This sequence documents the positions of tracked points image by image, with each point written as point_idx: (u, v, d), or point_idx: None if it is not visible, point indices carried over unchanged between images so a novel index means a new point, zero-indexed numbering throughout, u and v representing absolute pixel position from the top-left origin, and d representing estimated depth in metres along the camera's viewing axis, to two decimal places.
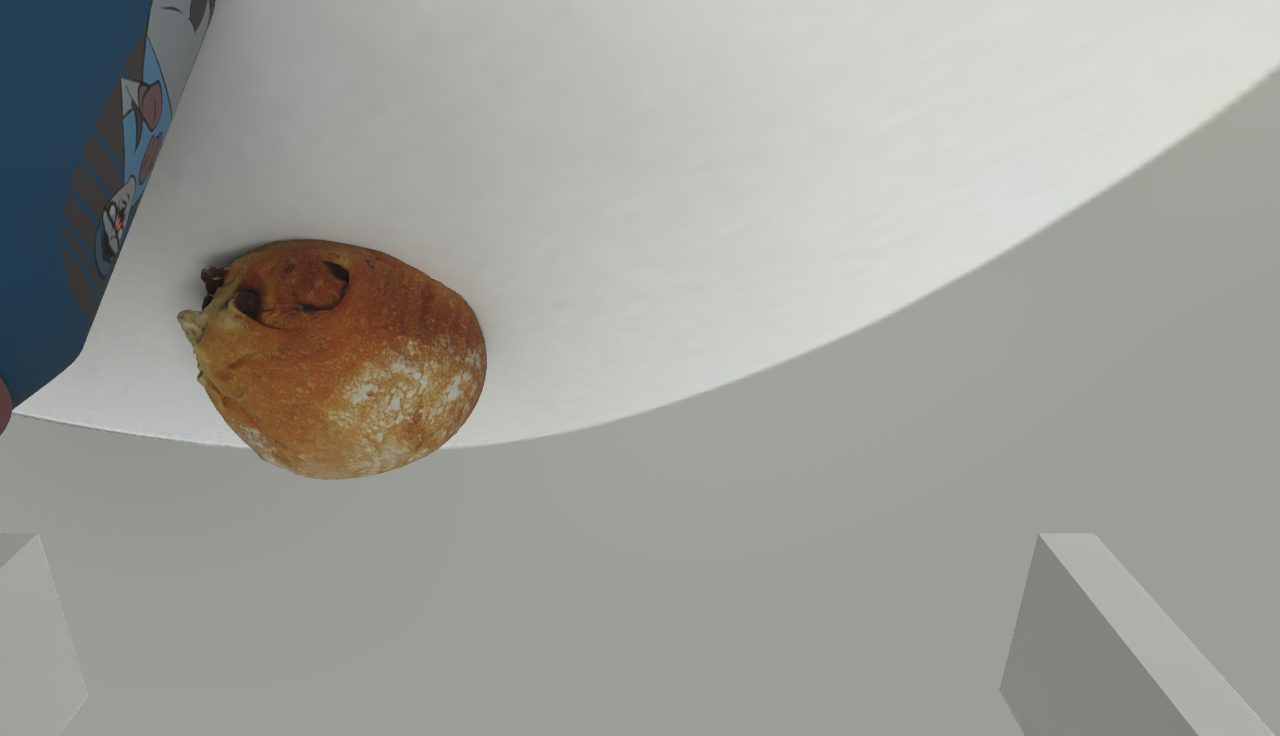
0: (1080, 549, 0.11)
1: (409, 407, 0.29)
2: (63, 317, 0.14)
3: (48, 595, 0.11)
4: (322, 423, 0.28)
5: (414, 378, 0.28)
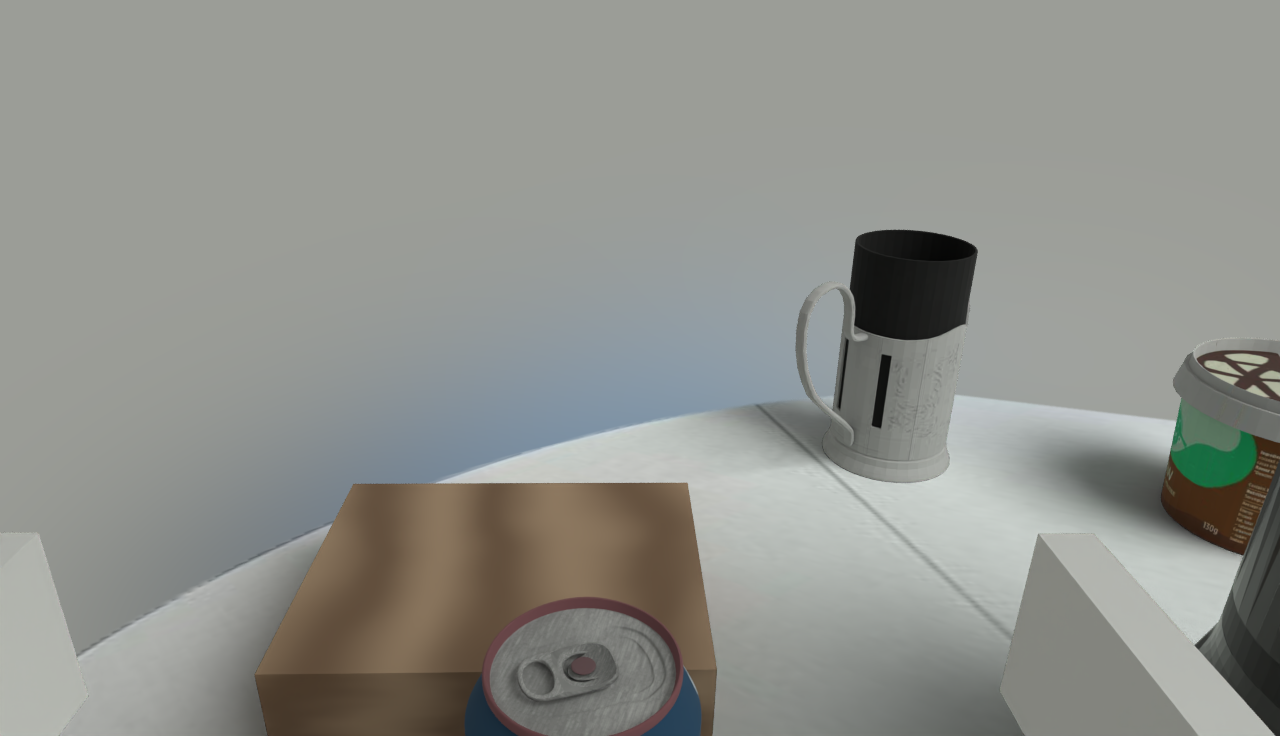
0: (1080, 549, 0.11)
1: None
2: None
3: (48, 594, 0.11)
4: None
5: None
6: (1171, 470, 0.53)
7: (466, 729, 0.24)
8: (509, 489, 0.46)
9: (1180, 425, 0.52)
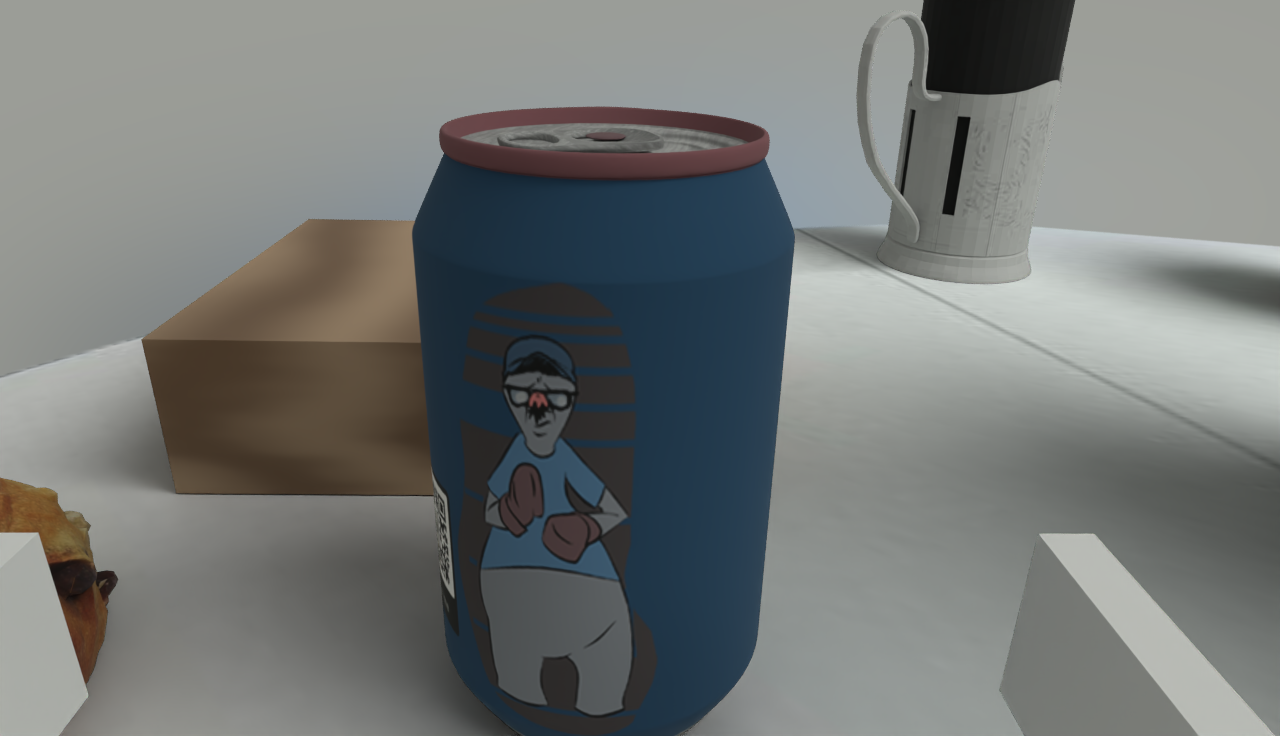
0: (1080, 549, 0.11)
1: None
2: (555, 262, 0.13)
3: (48, 595, 0.11)
4: None
5: None
6: None
7: (414, 227, 0.15)
8: None
9: None
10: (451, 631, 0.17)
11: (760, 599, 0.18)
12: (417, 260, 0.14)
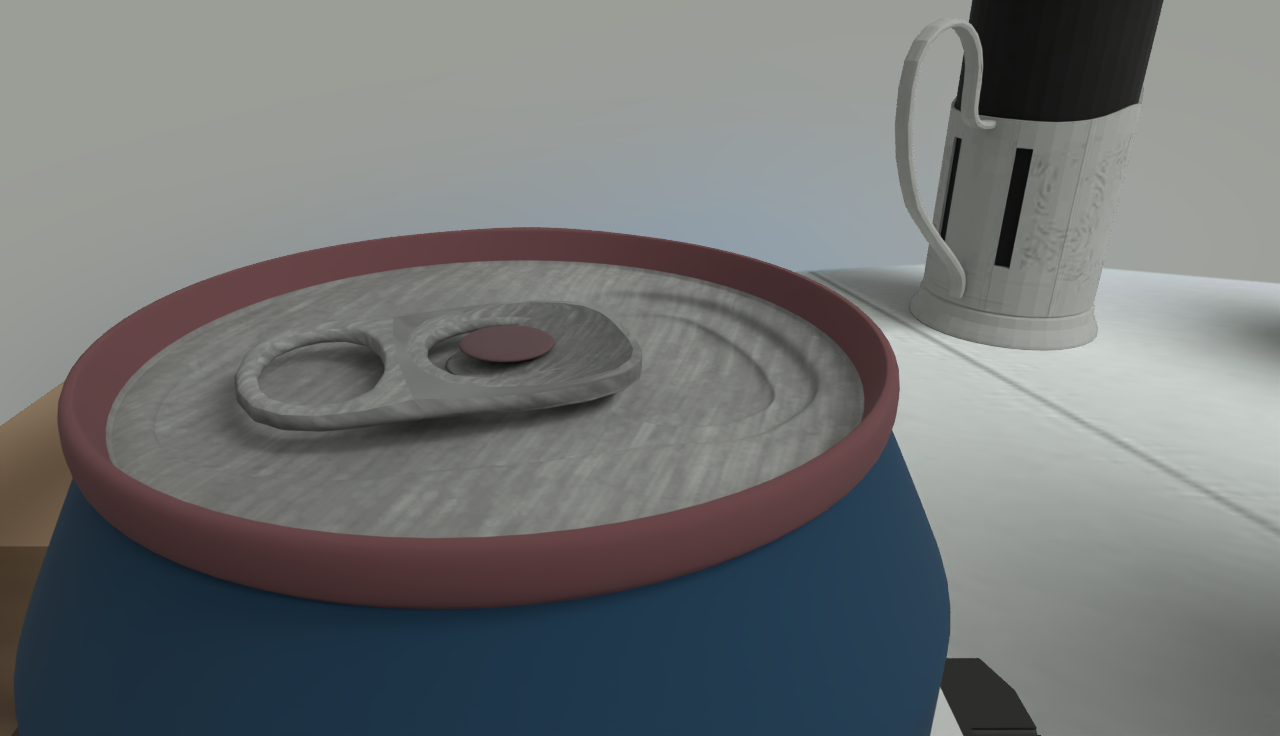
0: None
1: None
2: None
3: None
4: None
5: None
6: None
7: None
8: None
9: None
10: None
11: None
12: None
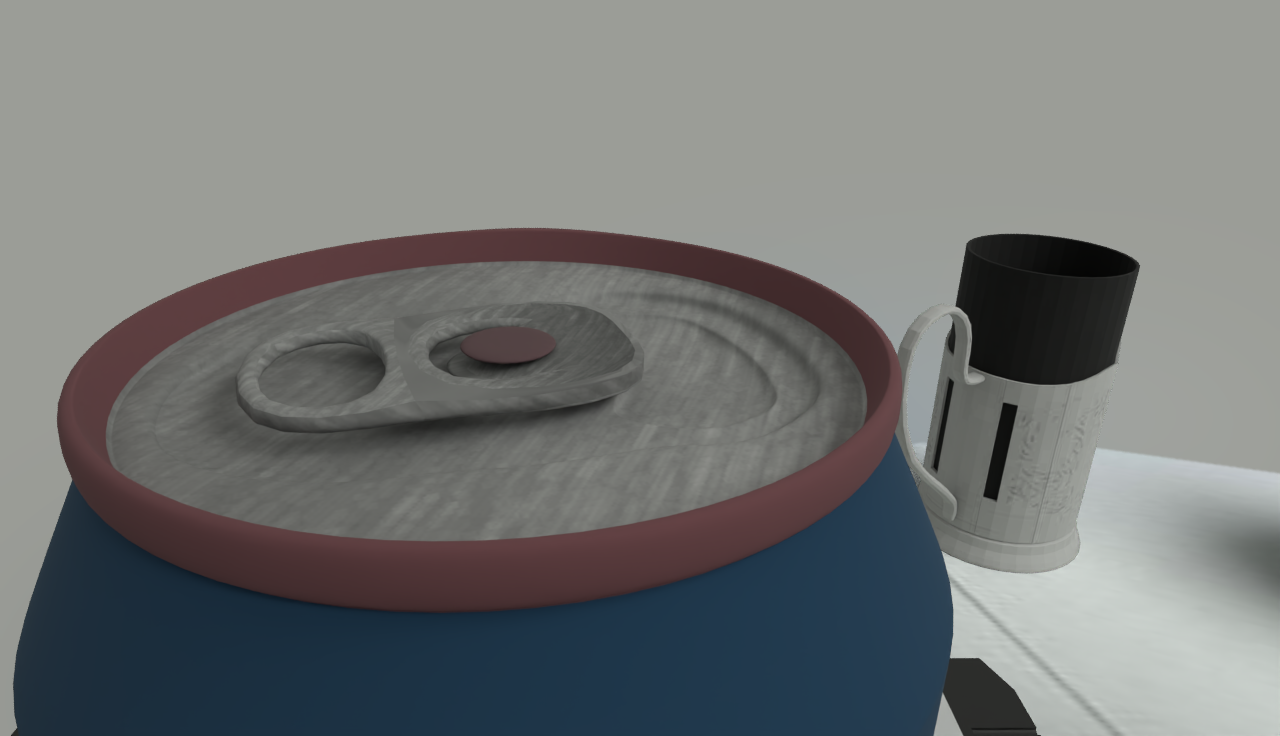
0: None
1: None
2: None
3: None
4: None
5: None
6: None
7: None
8: None
9: None
10: None
11: None
12: None
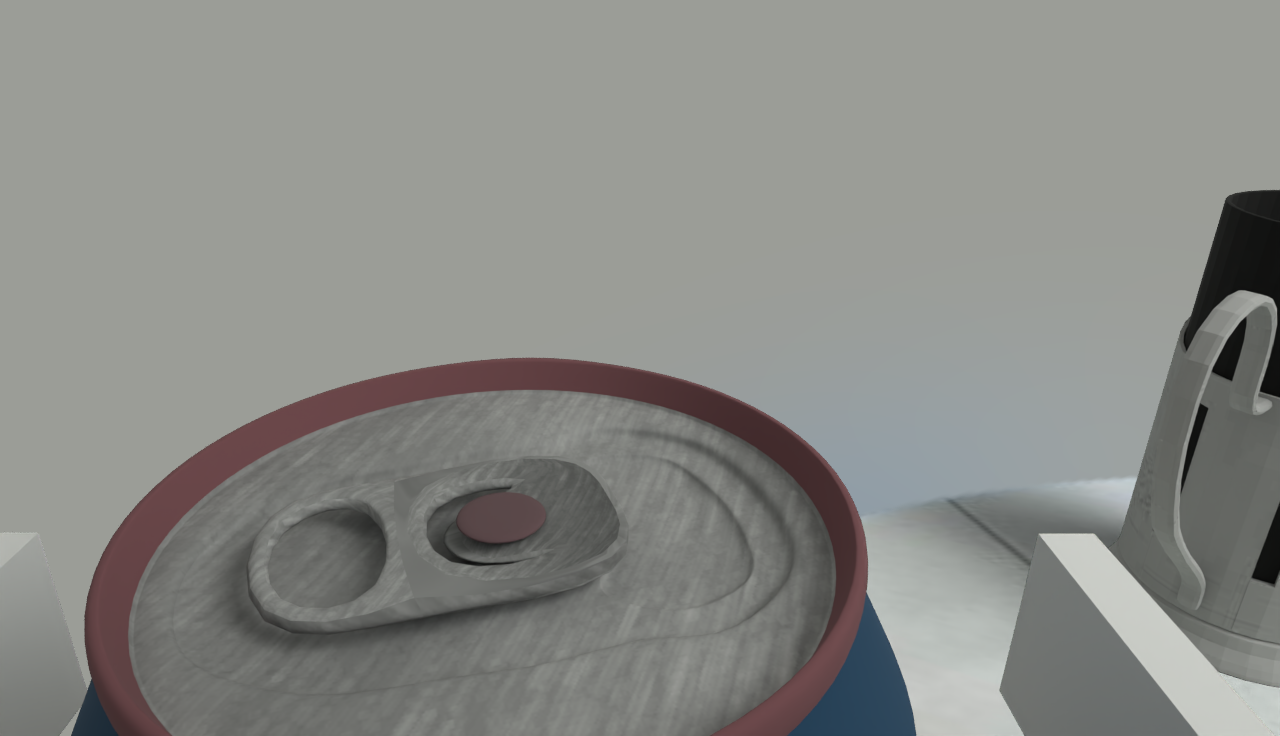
0: (1080, 549, 0.11)
1: None
2: None
3: (48, 595, 0.11)
4: None
5: None
6: None
7: None
8: None
9: None
10: None
11: None
12: None
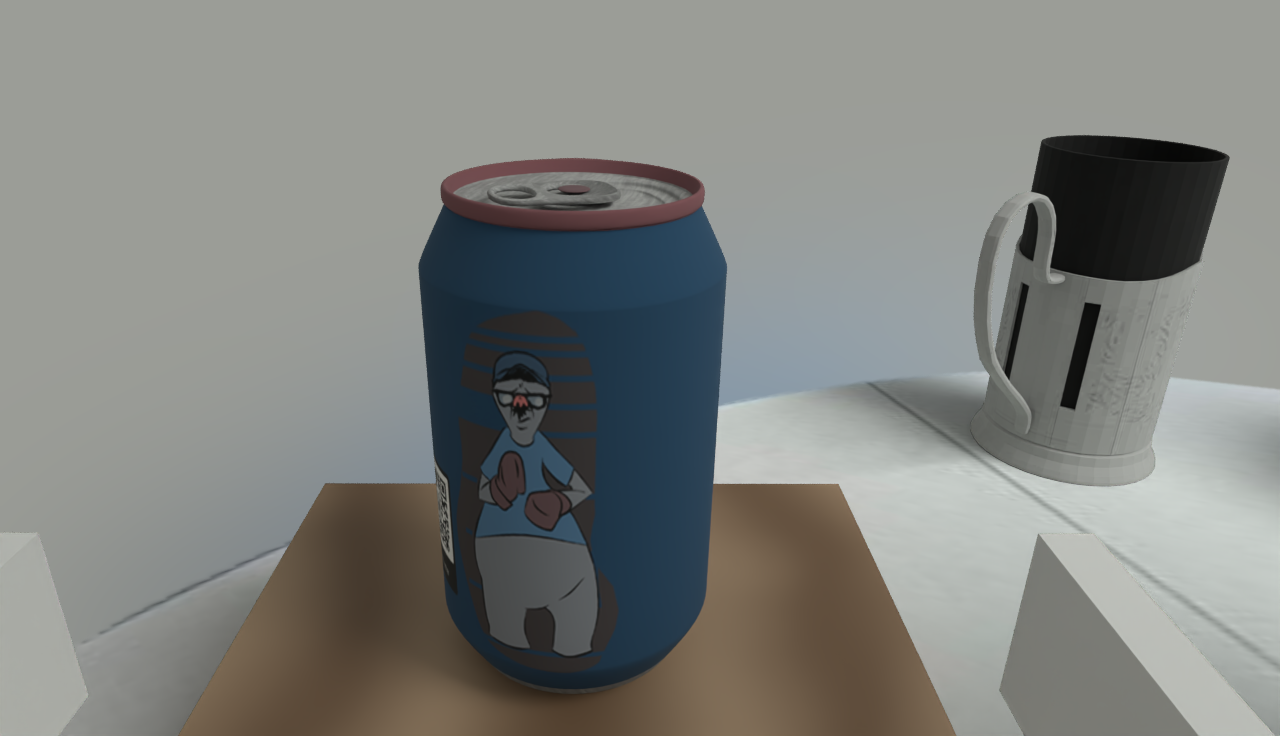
0: (1080, 549, 0.11)
1: None
2: (533, 294, 0.16)
3: (48, 595, 0.11)
4: None
5: None
6: None
7: (420, 263, 0.18)
8: None
9: None
10: (451, 592, 0.21)
11: (706, 564, 0.22)
12: (423, 290, 0.18)
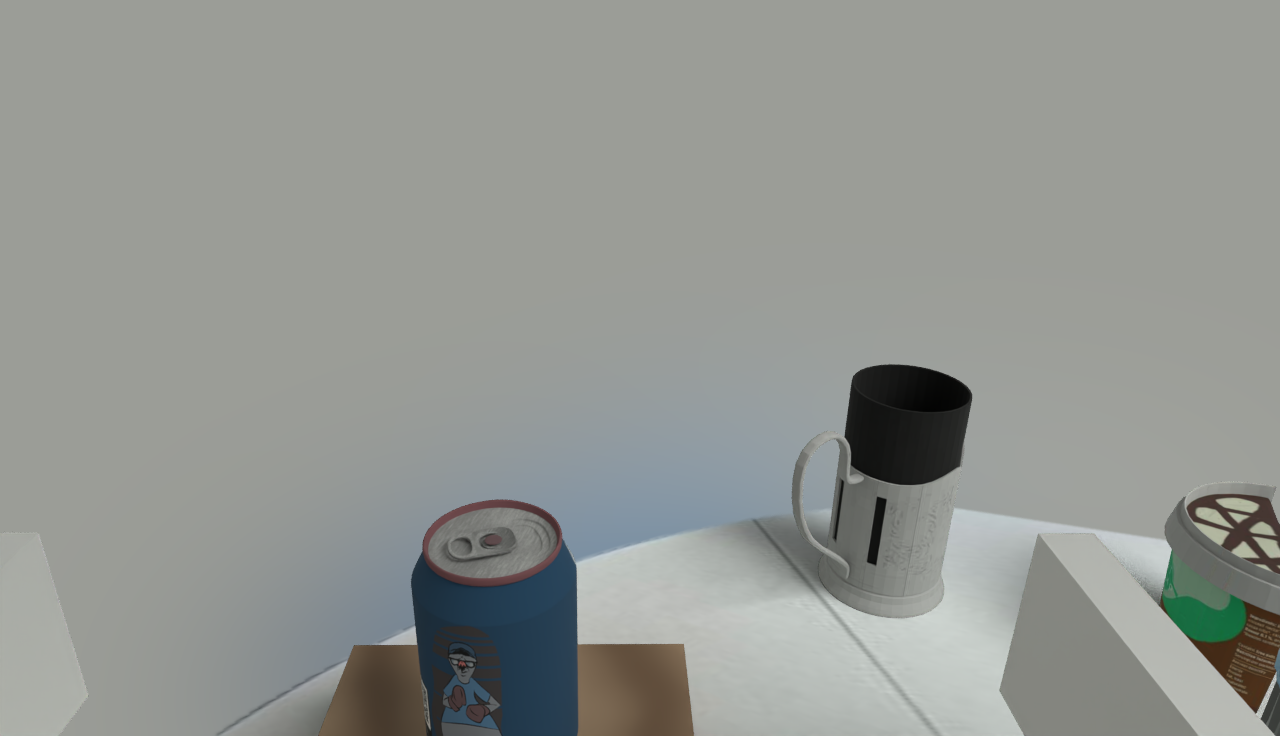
0: (1080, 549, 0.11)
1: None
2: (466, 618, 0.33)
3: (48, 594, 0.11)
4: None
5: None
6: None
7: (412, 582, 0.35)
8: None
9: (1171, 573, 0.53)
10: None
11: (574, 724, 0.39)
12: (413, 598, 0.35)
